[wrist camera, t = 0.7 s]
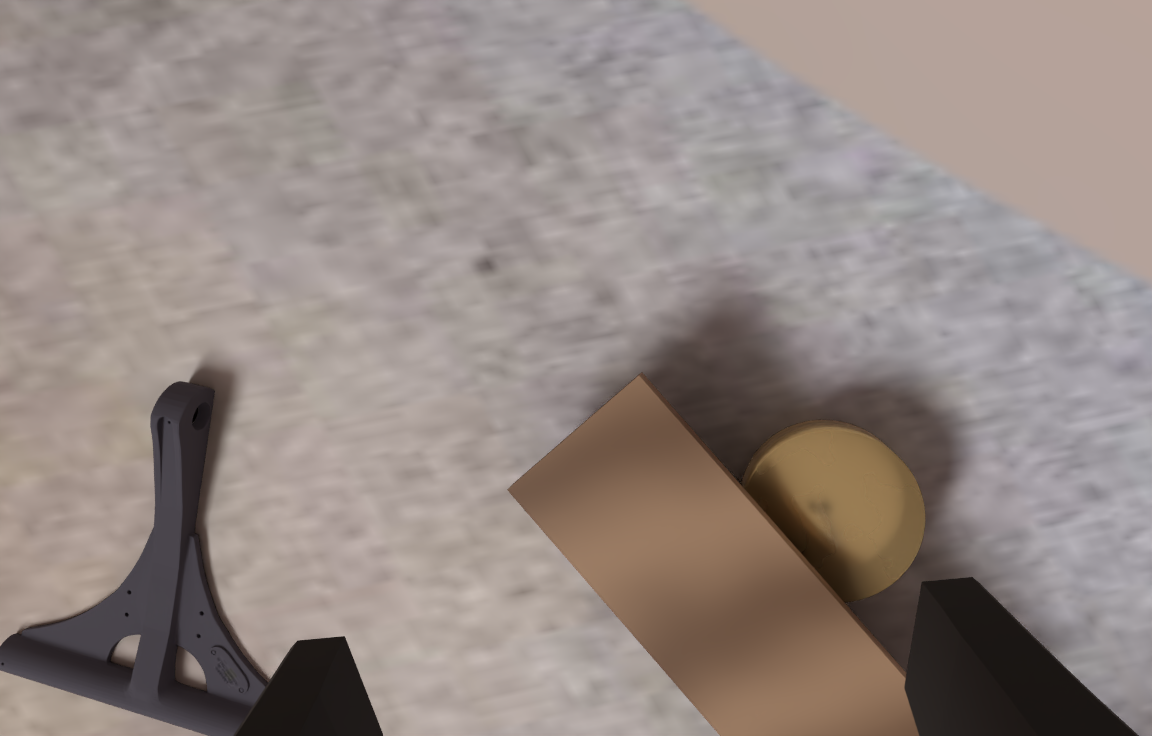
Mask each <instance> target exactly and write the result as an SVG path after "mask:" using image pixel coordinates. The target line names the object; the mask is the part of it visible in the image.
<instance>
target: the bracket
mask: <svg viewBox="0 0 1152 736" xmlns="http://www.w3.org/2000/svg"><path fill="white" fill-rule="evenodd" d="M214 393H215V391H214V390H212V389H211V388H207V387H203V386H199V385H195V384H191V383H187V382H181V381H179V382H176V383H173V384H172V385H170V386H169V387H168V388H167V389H166V390H165V391H164V392H163V393H162V394H161V396H160V397H159V399H158V400H157V402H156V404H155V406H154V408H153V411H152V413H151V433H152V440H153V455H154V481H155V519H154V528H153V530H152V532H151V534H150V536H149V539H148V541H147V543H146V546H145V548H144V550H143V552H142V554H141V556H140V558H139V560H138V562H137V563H136V565H135V566H134V568H133V570H132V571H131V572H130V574H129V575H128V576H127V578H126V579H125V580H124V582H123V583H122V584H121V586H120V587H119V588H118V589H117V590H116V591H115V592H114V593H113V594H111V595H110V596H109V597H108V598H106V599H105V600H104V601H102V602H101V603H99V604H98V605H96V606H95V607H94V608H92V609H90V610H88V611H86V612H84V613H82V614H80V615H78V616H75V617H73V618H70V619H67V620H64V621H60V622H56V623H52V624H47V625H42V626H36V627H30V628H27V629H25V630H23V631H22V635H20V634H17V633H16V634H13V635H11V636H10V637H9V638H7V639H6V640H5V641H4V642H3V643H2V645H1V646H0V670H1V671H4V672H7V673H10V674H14V675H17V676H20V677H23V678H26V679H30V680H33V681H36V682H39V683H42V684H45V685H49V686H52V687H55V688H58V689H61V690H65V691H68V692H71V693H74V694H77V695H81V696H84V697H87V698H90V699H93V700H97V701H100V702H103V703H106V704H109V705H113V706H116V707H119V708H122V709H125V710H128V711H132V712H135V713H138V714H141V715H144V716H148V717H151V718H154V719H157V720H160V721H164V722H167V723H170V724H173V725H176V726H180V727H183V728H186V729H189V730H192V731H196V732H199V733H202V734H205V735H208V736H233V735H234V734H235V732H236V731H237V729H238V728H239V726H240V725H241V723H242V722H243V720H244V719H245V717H246V716H247V714H248V713H249V711H250V710H251V708H252V707H253V705H254V704H255V702H256V701H257V699H258V698H259V696H260V695H261V693H262V692H263V690H264V689H265V687H266V686H267V684H268V683H267V682H266V681H265V680H264V679H263V678H262V677H261V675H260V674H259V673H258V672H257V671H256V670H255V669H254V668H253V666H252V665H251V664H250V663H249V661H248V660H247V659H246V657H245V656H244V655H243V654H242V652H241V651H240V649H239V648H238V646H237V645H236V643H235V642H234V640H233V639H232V637H231V636H230V634H229V632H228V631H227V629H226V627H225V626H224V624H223V623H222V621H221V620H220V618H219V616H218V613H217V611H216V608H215V605H214V602H213V599H212V597H211V594H210V591H209V588H208V584H207V581H206V577H205V573H204V568H203V563H202V557H201V550H200V544H199V538H198V535H197V534H194V532H195V523H196V516H197V509H198V503H199V496H200V489H201V482H202V475H203V469H204V462H205V455H206V448H207V441H208V434H209V428H210V421H211V414H212V407H213V400H214ZM197 407H198V408H199V409H198V415H197V418H196V420H195V421H194V423H193V424H192V419H193V415H194V413H195V411H196V409H197ZM137 634H140V635H141V637H140V642H139V646H138V651H137V655H136V660H135V664H134V669H131V668H128V667H125V666H121V665H118V664H115V663H112V662H110V660H111V655H112V652H113V650H114V648H115V646H116V645H117V643H118V642H119V641H120V640H121V639H122V638H124V637H126V636H130V635H137ZM177 646H181V647H183V648H184V649H186V650H187V651H188V652H190V653H191V654H192V655H193V656H194V657H195V658H196V660H197V661H198V662H199V664H200V665H201V667H202V669H203V671H204V674H205V677H206V683H207V692H206V691H203V690H200V689H196V688H193V687H190V686H187V685H184V684H181V683H179V682H177V681H176V680H175V662H176V653H177Z"/></svg>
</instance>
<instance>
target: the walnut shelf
mask: <svg viewBox="0 0 1152 736" xmlns="http://www.w3.org/2000/svg"><path fill="white" fill-rule="evenodd" d="M508 491H509V492H510V494H511V495H512V496H513V497H514V498H515V499H516V500H517V502H518V503H519V504H520V505H521V506H522V507H523V509H524V510H525V511H526V512H527V513H528V514H529V515H530V517H531V518H532V519H533V520H534V521H535V522H536V524H537V525H538V526H539V527H540V528H541V529H542V530H543V532H544V533H545V534H546V535H547V536H548V537H549V539H550V540H551V541H552V542H553V543H554V544H555V546H556V547H557V548H558V549H559V550H560V551H561V552H562V554H563V555H564V556H565V557H566V558H567V559H568V561H569V562H570V563H571V564H572V565H573V566H574V567H575V569H576V570H577V571H578V572H579V573H580V574H581V576H582V577H583V578H584V579H585V580H586V581H587V582H588V584H589V585H590V586H591V587H592V588H593V589H594V591H595V592H596V593H597V594H598V595H599V596H600V597H601V599H602V600H603V601H604V602H605V603H606V604H607V606H608V607H609V608H610V609H611V610H612V611H613V612H614V614H615V615H616V616H617V617H618V618H619V619H620V621H621V622H622V623H623V624H624V625H625V626H626V627H627V629H628V630H629V631H630V632H631V633H632V634H633V636H634V637H635V638H636V639H637V640H638V641H639V642H640V644H641V645H642V646H643V647H644V648H645V649H646V651H647V652H648V653H649V654H650V655H651V656H652V657H653V659H654V660H655V661H656V662H657V663H658V664H659V666H660V667H661V668H662V669H663V670H664V671H665V672H666V674H667V675H668V676H669V677H670V678H671V679H672V681H673V682H674V683H675V684H676V685H677V686H678V687H679V689H680V690H681V691H682V692H683V693H684V694H685V696H686V697H687V698H688V699H689V700H690V701H691V703H692V704H693V705H694V706H695V707H696V708H697V709H698V711H699V712H700V713H701V714H702V715H703V716H704V718H705V719H706V720H707V721H708V722H709V723H710V724H711V726H712V727H713V728H714V729H715V730H716V731H717V733H718V734H719V735H720V736H919V733H918V730H917V727H916V724H915V721H914V717H913V714H912V711H911V708H910V705H909V701H908V698H907V695H906V692H905V689H904V686H905V680H906V674H907V673H906V672H905V671H904V670H903V669H902V668H901V666H900V665H899V664H898V663H897V662H896V661H895V660H894V658H893V657H892V656H891V655H890V654H889V653H888V652H887V650H886V649H885V648H884V647H883V646H882V645H881V644H880V643H879V641H878V640H877V639H876V638H875V637H874V636H873V635H872V633H871V632H870V631H869V630H868V629H867V628H866V627H865V625H864V624H863V623H862V622H861V621H860V620H859V619H858V617H857V616H856V615H855V614H854V613H853V612H852V611H851V610H850V608H849V607H848V606H847V605H846V604H845V603H844V602H843V600H842V599H841V598H840V597H839V596H838V595H837V594H836V592H835V591H834V590H833V589H832V588H831V587H830V586H829V585H828V583H827V582H826V581H825V580H824V579H823V578H822V577H821V575H820V574H819V573H818V572H817V571H816V570H815V569H814V567H813V566H812V565H811V564H810V563H809V562H808V561H807V559H806V558H805V557H804V556H803V555H802V554H801V553H800V552H799V550H798V549H797V548H796V547H795V546H794V545H793V544H792V542H791V541H790V540H789V539H788V538H787V537H786V536H785V534H784V533H783V532H782V531H781V530H780V529H779V528H778V527H777V525H776V524H775V523H774V522H773V521H772V520H771V519H770V517H769V516H768V515H767V514H766V513H765V512H764V511H763V509H762V508H761V507H760V506H759V505H758V504H757V503H756V501H755V500H754V499H753V498H752V497H751V496H750V495H749V494H748V492H747V491H746V490H745V489H744V488H743V487H742V486H741V484H740V483H739V482H738V481H737V480H736V479H735V478H734V476H733V475H732V474H731V473H730V472H729V471H728V470H727V469H726V467H725V466H724V465H723V464H722V463H721V462H720V461H719V459H718V458H717V457H716V456H715V455H714V454H713V453H712V451H711V450H710V449H709V448H708V447H707V446H706V445H705V444H704V442H703V441H702V440H701V439H700V438H699V437H698V436H697V434H696V433H695V432H694V431H693V430H692V429H691V428H690V426H689V425H688V424H687V423H686V422H685V421H684V420H683V418H682V417H681V416H680V415H679V414H678V413H677V412H676V411H675V409H674V408H673V407H672V406H671V405H670V404H669V403H668V401H667V400H666V399H665V398H664V397H663V396H662V395H661V393H660V392H659V391H658V390H657V389H656V388H655V387H654V386H653V384H652V383H651V382H650V381H649V380H648V379H647V378H646V376H645V375H644V374H643V373H642V372H641V373H640V374H639V375H638V376H637V377H636V378H634V379H633V380H632V381H631V382H630V383H629V384H628V385H626V386H625V387H624V388H623V389H622V390H621V391H619V392H618V393H617V394H616V395H615V396H614V397H613V398H611V399H610V400H609V401H608V402H607V403H606V404H604V405H603V406H602V407H601V408H600V409H599V410H598V411H596V412H595V413H594V414H593V415H592V416H591V417H590V418H588V419H587V420H586V421H585V422H584V423H583V424H581V425H580V426H579V427H578V428H577V429H576V430H575V431H573V432H572V433H571V434H570V435H569V436H568V437H566V438H565V439H564V440H563V441H562V442H561V443H560V444H558V445H557V446H556V447H555V448H554V449H553V450H552V451H550V452H549V453H548V454H547V455H546V456H545V457H543V458H542V459H541V460H540V461H539V462H538V463H537V464H535V465H534V466H533V467H532V468H531V469H530V470H528V471H527V472H526V473H525V474H524V475H523V476H522V477H520V478H519V479H518V480H517V481H516V482H515V483H514V484H513V485H512V486H511V487H510V488H509V489H508Z"/></svg>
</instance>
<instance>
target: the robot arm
mask: <svg viewBox="0 0 1152 736" xmlns="http://www.w3.org/2000/svg"><path fill="white" fill-rule="evenodd" d="M904 689H905V692H906V695H907V698H908V701H909V705H910V708H911V711H912V714H913V717H914V721H915V724H916V727H917V730H918V733H919V736H1139V735H1137V734H1136V733H1135V732H1134V731H1133V730H1132V729H1131V728H1130V727H1129V726H1128V725H1126V724H1125V723H1124V722H1123V721H1122V720H1121V719H1120V718H1119V717H1118V716H1117V715H1116V714H1114V713H1113V712H1112V711H1111V710H1110V709H1109V708H1108V707H1107V706H1106V705H1105V704H1103V703H1102V702H1101V701H1100V700H1099V699H1098V698H1097V697H1096V696H1095V695H1094V694H1093V693H1092V692H1091V691H1090V690H1088V689H1087V688H1086V687H1085V686H1084V685H1083V684H1082V683H1081V682H1080V681H1079V680H1078V679H1077V678H1076V677H1075V676H1074V675H1073V674H1072V673H1071V672H1070V671H1068V670H1067V669H1066V668H1065V667H1064V666H1063V665H1062V664H1061V663H1060V662H1059V661H1058V660H1057V659H1056V658H1055V657H1054V656H1053V655H1052V654H1051V653H1050V652H1049V651H1048V650H1047V649H1046V648H1045V647H1044V646H1043V645H1042V644H1041V643H1040V642H1039V641H1038V640H1037V639H1036V638H1034V637H1033V636H1032V635H1031V634H1030V633H1029V632H1028V631H1027V630H1026V629H1025V628H1024V627H1023V626H1022V625H1021V624H1020V623H1019V622H1018V621H1017V620H1016V619H1015V618H1014V617H1013V616H1012V615H1011V614H1010V613H1009V612H1008V611H1007V610H1006V609H1005V608H1004V607H1003V606H1002V605H1001V604H1000V603H999V602H998V601H997V600H996V599H995V598H994V597H993V596H992V595H991V594H990V593H989V592H988V591H987V590H986V589H985V588H984V587H983V586H982V585H981V584H980V583H979V582H978V581H976V580H975V579H974V578H973V577H969V578H958V579H948V580H937V581H926V582H922V585H921V591H920V597H919V602H918V608H917V614H916V620H915V626H914V632H913V638H912V644H911V650H910V656H909V662H908V668H907V674H906V680H905V686H904ZM233 736H383V733H382V731H381V728H380V725H379V723H378V720H377V718H376V715H375V713H374V710H373V708H372V705H371V702H370V700H369V697H368V695H367V692H366V690H365V687H364V685H363V682H362V679H361V677H360V674H359V672H358V669H357V667H356V664H355V662H354V659H353V656H352V654H351V651H350V649H349V646H348V644H347V641H346V638H345V636H343V637H332V638H321V639H311V640H300V641H297V642H296V643H295V644H294V645H293V646H292V647H291V649H290V650H289V652H288V653H287V655H286V656H285V658H284V659H283V661H282V663H281V664H280V666H279V667H278V669H277V670H276V672H275V673H274V675H273V676H272V678H271V679H270V681H269V682H268V684H267V686H266V687H265V689H264V690H263V692H262V693H261V695H260V696H259V698H258V699H257V701H256V702H255V704H254V705H253V707H252V708H251V710H250V711H249V713H248V714H247V716H246V717H245V719H244V720H243V722H242V723H241V725H240V726H239V728H238V729H237V731H236V732H235V734H234V735H233Z"/></svg>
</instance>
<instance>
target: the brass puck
mask: <svg viewBox="0 0 1152 736" xmlns="http://www.w3.org/2000/svg"><path fill="white" fill-rule="evenodd" d="M741 486H742V487H743V488H744V489H745V490H746V491H747V492H748V494H749V495H750V496H751V497H752V498H753V499H754V500H755V501H756V503H757V504H758V505H759V506H760V507H761V508H762V509H763V511H764V512H765V513H766V514H767V515H768V516H769V517H770V519H771V520H772V521H773V522H774V523H775V524H776V525H777V527H778V528H779V529H780V530H781V531H782V532H783V533H784V534H785V536H786V537H787V538H788V539H789V540H790V541H791V542H792V544H793V545H794V546H795V547H796V548H797V549H798V550H799V552H800V553H801V554H802V555H803V556H804V557H805V558H806V559H807V561H808V562H809V563H810V564H811V565H812V566H813V567H814V569H815V570H816V571H817V572H818V573H819V574H820V575H821V577H822V578H823V579H824V580H825V581H826V582H827V583H828V585H829V586H830V587H831V588H832V589H833V590H834V591H835V592H836V594H837V595H838V596H839V597H840V598H841V599H842V600H843V602H852V601H857V600H861V599H864V598H867V597H870V596H873V595H875V594H877V593H879V592H881V591H883V590H884V589H886V588H887V587H889V586H890V585H892V584H893V583H894V582H895V581H896V580H898V579H899V578H900V577H901V576H902V575H903V574H904V573H905V571H906V570H907V569H908V568H909V566H910V565H911V563H912V562H913V560H914V559H915V557H916V555H917V553H918V551H919V549H920V546H921V542H922V539H923V535H924V529H925V508H924V502H923V498H922V494H921V491H920V489H919V486H918V484H917V481H916V480H915V478H914V476H913V475H912V473H911V471H910V470H909V469H908V467H907V466H906V465H905V463H904V462H903V461H902V460H901V459H900V458H899V457H898V456H897V455H896V454H895V453H894V452H893V451H891V450H890V449H889V448H888V447H887V446H886V445H885V444H884V443H883V442H882V441H881V440H879V439H878V438H877V437H876V436H874V435H873V434H871V433H869V432H868V431H866V430H864V429H862V428H860V427H858V426H855V425H853V424H849V423H846V422H842V421H835V420H812V421H806V422H802V423H797V424H795V425H792V426H789V427H787V428H785V429H783V430H781V431H779V432H778V433H776V434H775V435H773V436H772V437H771V438H769V439H768V440H767V441H766V442H765V443H764V444H763V445H762V446H761V447H760V448H759V449H758V450H757V452H756V453H755V454H754V456H753V457H752V459H751V460H750V462H749V464H748V466H747V469H746V471H745V473H744V477H743V480H742V485H741Z"/></svg>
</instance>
